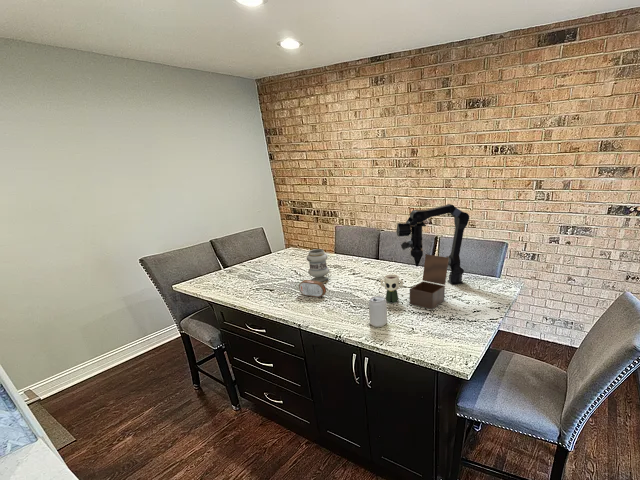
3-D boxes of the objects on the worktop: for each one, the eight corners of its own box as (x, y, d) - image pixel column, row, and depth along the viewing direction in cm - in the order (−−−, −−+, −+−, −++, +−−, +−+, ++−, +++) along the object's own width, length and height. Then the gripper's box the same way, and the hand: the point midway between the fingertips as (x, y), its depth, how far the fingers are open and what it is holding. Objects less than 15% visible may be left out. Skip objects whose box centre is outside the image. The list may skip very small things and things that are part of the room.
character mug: (380, 303, 166) (379, 278, 161) (382, 297, 173) (381, 273, 168) (402, 304, 165) (401, 279, 160) (403, 298, 172) (403, 274, 167)
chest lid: (448, 257, 162) (449, 257, 163) (425, 254, 169) (426, 254, 170) (444, 284, 165) (445, 284, 166) (422, 280, 172) (423, 280, 172)
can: (369, 320, 149) (368, 295, 145) (386, 319, 150) (385, 294, 145) (369, 328, 142) (368, 302, 138) (387, 327, 143) (386, 301, 138)
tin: (327, 296, 176) (325, 281, 173) (324, 298, 173) (322, 283, 170) (302, 293, 181) (300, 278, 177) (299, 295, 178) (297, 280, 175)
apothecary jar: (305, 282, 197) (301, 252, 190) (317, 276, 207) (313, 247, 200) (322, 284, 192) (319, 254, 185) (334, 278, 203) (331, 249, 196)
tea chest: (432, 309, 159) (432, 293, 156) (409, 303, 166) (409, 288, 163) (444, 300, 169) (444, 285, 166) (422, 295, 175) (422, 281, 172)
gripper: (402, 231, 185) (402, 259, 191) (400, 239, 168) (401, 269, 174) (422, 231, 184) (422, 259, 190) (422, 239, 167) (422, 269, 173)
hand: (416, 263), depth 182 cm, fingers open, 9 cm apart
